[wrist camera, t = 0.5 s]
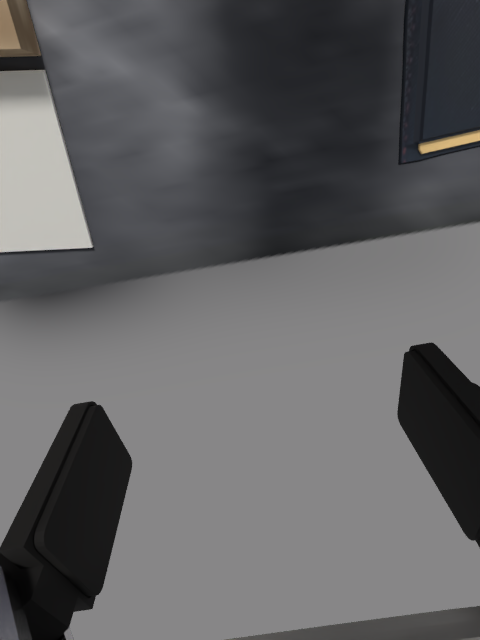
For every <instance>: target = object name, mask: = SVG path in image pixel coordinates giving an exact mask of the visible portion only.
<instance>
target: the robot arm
mask: <svg viewBox="0 0 480 640" xmlns="http://www.w3.org/2000/svg"><path fill="white" fill-rule="evenodd" d="M403 361H404V362H403V370H402V378H401V387H400V396H399V404H398V419H399V422H400V425H401V426H402V428H403V430H404V431H405V433H406V435H407V437H408V438H409V440H410V442H411V443H412V445H413V447H414V448H415V450H416V452H417V454H418V455H419V457H420V459H421V460H422V462H423V464H424V465H425V467H426V469H427V471H428V472H429V474H430V476H431V477H432V479H433V480H434V482H435V484H436V486H437V487H438V489H439V491H440V493H441V494H442V496H443V497H444V499H445V501H446V503H447V504H448V506H449V508H450V509H451V511H452V513H453V514H454V516H455V518H456V520H457V521H458V523H459V525H460V527H461V528H462V530H463V532H464V533H465V534H466V536H467V537H468V538H469V539H470V540H476V542H477V543H478V545H479V547H480V387H479V386H478V385H476V384H474V383H472V382H470V380H469V379H468V378H467V377H466V376H465V375H464V374H463V373H462V372H461V371H460V370H459V369H458V368H457V367H456V366H455V365H454V364H453V363H452V361H451V360H450V359H449V358H448V357H447V356H446V355H445V354H444V353H443V352H442V351H441V350H440V349H439V348H438V347H437V346H436V345H435V344H434V343H426V344H420V345H414V346H411V347H410V349H409V352H406V353H405V354H404V360H403ZM131 469H132V460H131V457H130V455H129V453H128V451H127V449H126V448H125V446H124V445H123V442H122V441H121V439H120V437H119V435H118V434H117V432H116V430H115V429H114V427H113V425H112V423H111V421H110V420H109V418H108V416H107V414H106V413H105V411H104V409H103V408H102V406H101V405H97V404H96V403H95V402H85V403H80V404H74V405H73V406H72V407H71V408H70V410H69V412H68V414H67V416H66V418H65V420H64V422H63V424H62V426H61V428H60V430H59V432H58V434H57V436H56V438H55V439H54V442H53V443H52V445H51V447H50V449H49V451H48V454H47V456H46V457H45V459H44V461H43V463H42V465H41V467H40V469H39V471H38V473H37V475H36V477H35V479H34V481H33V483H32V485H31V487H30V489H29V491H28V493H27V495H26V497H25V499H24V501H23V503H22V505H21V507H20V509H19V511H18V513H17V515H16V517H15V519H14V521H13V523H12V525H11V527H10V529H9V531H8V533H7V535H6V537H5V539H4V541H3V543H2V545H1V547H0V640H74V639H73V636H72V633H71V630H70V627H69V625H70V621H71V618H72V615H73V612H75V611H81V610H89V609H92V608H93V604H94V601H95V597H96V595H98V594H99V593H100V592H101V590H102V588H103V584H104V580H105V576H106V572H107V567H108V564H109V559H110V556H111V552H112V547H113V543H114V539H115V535H116V531H117V527H118V523H119V519H120V515H121V511H122V506H123V502H124V498H125V494H126V490H127V486H128V482H129V477H130V474H131ZM227 640H480V606H477V607H468V608H459V609H450V610H442V611H434V612H427V613H419V614H411V615H404V616H396V617H389V618H381V619H374V620H367V621H358V622H351V623H344V624H336V625H328V626H322V627H314V628H307V629H299V630H292V631H284V632H277V633H271V634H262V635H255V636H248V637H241V638H234V639H227Z"/></svg>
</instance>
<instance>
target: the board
mask: <svg viewBox="0 0 480 640" xmlns="http://www.w3.org/2000/svg"><path fill="white" fill-rule="evenodd" d="M22 56H41V52H40V49H39V45H38V41H37V38H36V34H35V30H34V27H33V23H32V19H31V16H30V12H29V8H28V5H27V1H26V0H0V57H22Z"/></svg>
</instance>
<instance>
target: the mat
mask: <svg viewBox="0 0 480 640" xmlns="http://www.w3.org/2000/svg"><path fill="white" fill-rule="evenodd" d="M93 247H94V246H93V242H92V239H91V235H90V231H89V228H88V224H87V220H86V217H85V213H84V209H83V206H82V202H81V198H80V195H79V191H78V187H77V184H76V180H75V177H74V173H73V169H72V166H71V162H70V158H69V155H68V151H67V147H66V144H65V140H64V136H63V133H62V129H61V125H60V122H59V118H58V114H57V111H56V107H55V103H54V100H53V96H52V93H51V89H50V85H49V82H48V78H47V74H46V71H45V70H22V71H0V252H15V251H35V250H56V249H76V248H93Z"/></svg>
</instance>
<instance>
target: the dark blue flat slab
mask: <svg viewBox="0 0 480 640" xmlns="http://www.w3.org/2000/svg"><path fill="white" fill-rule="evenodd" d="M478 146H480V0H406V5H405V17H404V47H403V79H402V99H401V117H400V142H399V164H404V163H410V162H416V161H420V160H424V159H428V158H432V157H435V156H439V155H443V154H447V153H452V152H456V151H460V150H465V149H469V148H473V147H478Z"/></svg>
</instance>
